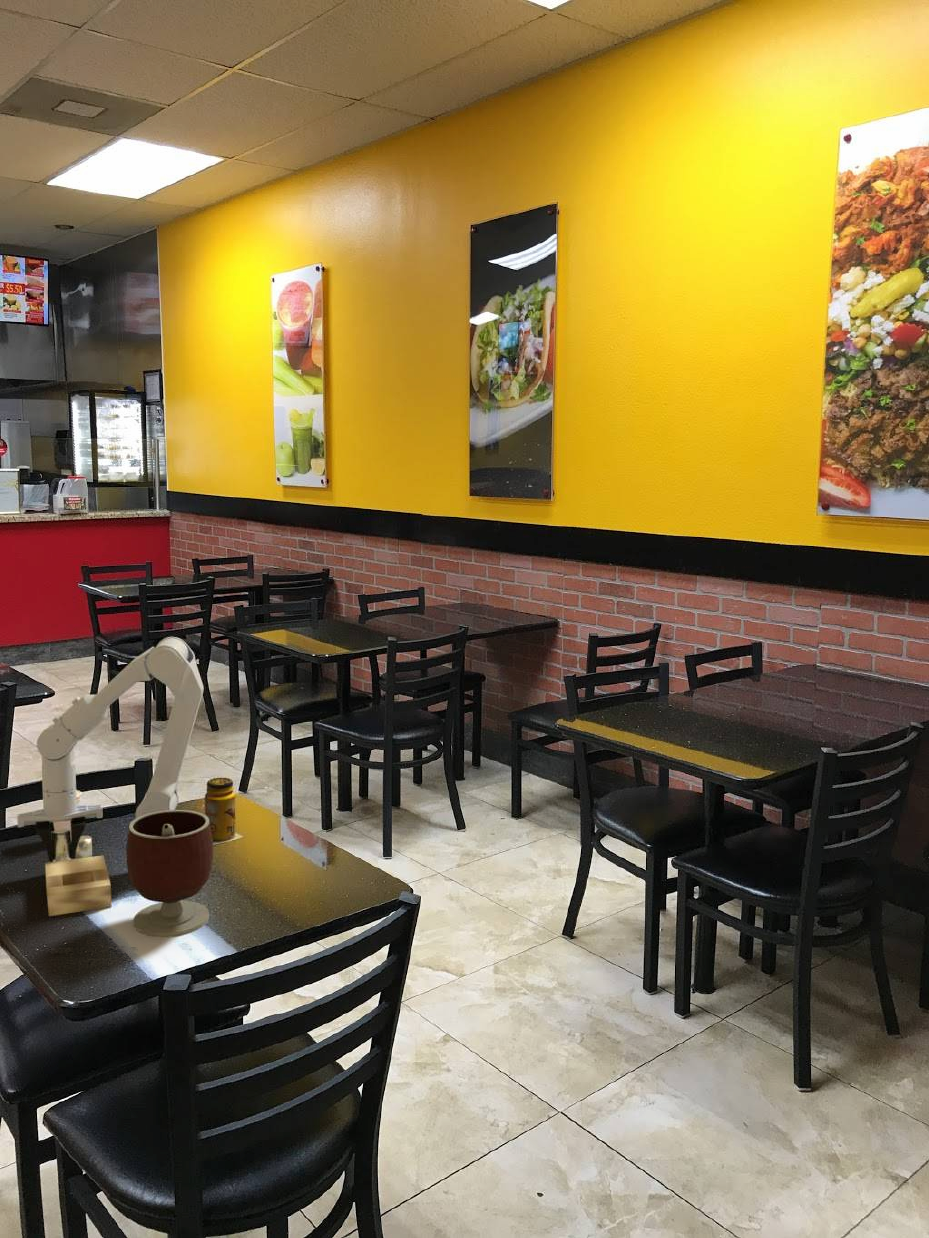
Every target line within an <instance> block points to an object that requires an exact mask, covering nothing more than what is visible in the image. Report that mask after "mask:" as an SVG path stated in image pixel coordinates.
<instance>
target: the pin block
mask: <svg viewBox="0 0 929 1238" xmlns="http://www.w3.org/2000/svg"><path fill="white" fill-rule="evenodd" d="M105 859H106V858H105V855H97V856H92V857H87V858H80V859H71V860H64V861H57V862H53V861H52V862H49V861H48V862H45V863H44V865H45V867H44V868H45V869H44V870H45V888H46V898H47V900H46V901H47V908H48V909H47V910H48V912H47V913H48V916H49V917H52V916H60V915H67V914H74V913H79V912H85V911H92V910H99V909H107V908H112V888H111V887H112V885H111V879H110V876H109V872H108V867H107V863H106V860H105ZM106 907H107V908H106Z"/></svg>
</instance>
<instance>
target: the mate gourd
mask: <svg viewBox="0 0 929 1238" xmlns="http://www.w3.org/2000/svg"><path fill="white" fill-rule="evenodd" d="M128 827H129V829H128V834H127V838H126V840H127V841H126V848H125V849H126V850H125V851H126V867H127V873H128V877H129V879H130V880H129V881H130V884H131V885H132V887H133V888H134V889H135V890H136V891H137V892H138V894H139V895H141V897H142V898H143V899H145V900H148V901H151V902H157V903H155V904H151V905H149V906H146V907H145V908H142V909H141V910H139V911H138V912H137V913H136V914H135V915H134V917H133V927H135V928H136V929H135V928H134V929H135V930H136V931H137V930H138V931H139V932H138V931H137V932H138V933H140V934H142V935H145V936H150V937H154V936H155V937H156V936H158V938H170V937H169V936H172V937H178V936H183V935H187V934H190V933H193V932H195V931H197V930H199V929H201V928H202V927H204V926H205V925H207V923H208V921H209V919H210V911H209V909H208V907H206V906H205V905H203V904H201V903H199V902H195V901H190V900H187V899H189V898H192V897H194V896H195V895H197V894H198V893H200V891H201V890H202V888H203V887H204V886H205V884H207V881H208V880H209V879H210V876H211V871H212V866H213V861H214V860H213V859H214V845H213V839H212V833H211V828H210V824H209V818H208V817H207V816H206V815H205V813H201V812H199V811H193V810H188V809H187V810H186V809H175V810H167V811H159V812H154V813H149V814H146V815H143V816H140V817H138V818H136V817H135V818H134V819H133V820H132V821H131V822H130V824H129V826H128ZM185 899H186V900H185ZM156 938H157V937H156Z"/></svg>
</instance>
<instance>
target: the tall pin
mask: <svg viewBox="0 0 929 1238" xmlns="http://www.w3.org/2000/svg"><path fill="white" fill-rule="evenodd" d="M51 845H52V852H53V861H52V862H57V861H64V860H72V859H71V833H70V830H68V829H59V830H55V829H54V830H53V831H51Z"/></svg>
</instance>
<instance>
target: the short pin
mask: <svg viewBox="0 0 929 1238" xmlns="http://www.w3.org/2000/svg"><path fill="white" fill-rule="evenodd" d="M87 857H93V838H92V836H89V835H81V837H80V840H79V842H78V846H77V850H76V858H75V859H80V858H87Z"/></svg>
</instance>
